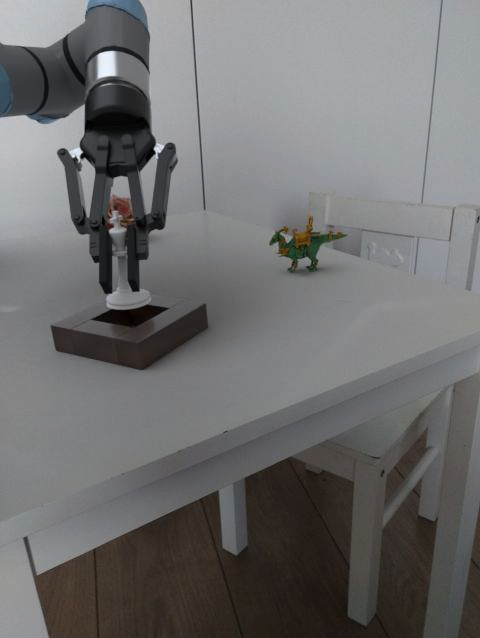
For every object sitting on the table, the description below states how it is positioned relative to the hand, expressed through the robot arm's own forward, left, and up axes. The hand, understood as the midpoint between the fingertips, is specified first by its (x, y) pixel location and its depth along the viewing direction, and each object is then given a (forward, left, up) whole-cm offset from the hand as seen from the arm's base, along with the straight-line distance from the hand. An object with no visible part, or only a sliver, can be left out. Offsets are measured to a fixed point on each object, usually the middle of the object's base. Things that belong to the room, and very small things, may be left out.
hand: (119, 286), depth 58 cm
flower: (-34, +39, -8) cm, 53 cm away
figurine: (+6, +34, -8) cm, 36 cm away
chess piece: (-2, +3, -3) cm, 5 cm away
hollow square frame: (-2, +3, -7) cm, 8 cm away
